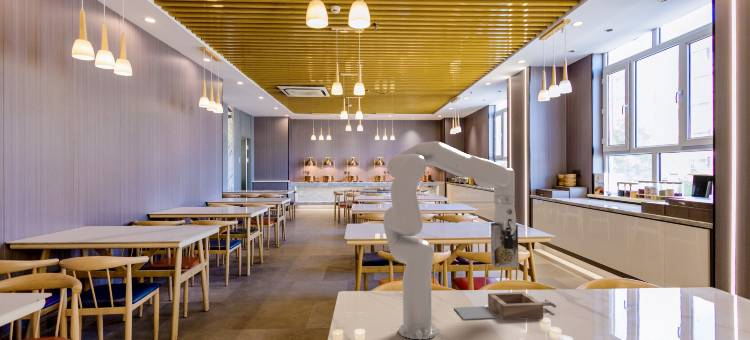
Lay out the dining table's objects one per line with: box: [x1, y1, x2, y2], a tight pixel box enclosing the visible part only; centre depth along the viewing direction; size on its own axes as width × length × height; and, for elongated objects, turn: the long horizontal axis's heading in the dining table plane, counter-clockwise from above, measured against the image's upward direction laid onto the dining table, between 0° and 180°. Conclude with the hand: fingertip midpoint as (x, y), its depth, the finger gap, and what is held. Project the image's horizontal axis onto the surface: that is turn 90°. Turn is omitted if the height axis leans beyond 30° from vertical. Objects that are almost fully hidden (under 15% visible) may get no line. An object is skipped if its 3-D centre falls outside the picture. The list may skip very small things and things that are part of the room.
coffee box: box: [490, 222, 520, 268], centre depth 152 cm, size 9×6×16 cm
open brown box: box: [487, 291, 557, 320], centre depth 153 cm, size 15×23×5 cm, turn 96°
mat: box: [453, 305, 497, 321], centre depth 151 cm, size 12×12×1 cm
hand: (504, 246), depth 152 cm, fingers closed on coffee box, 7 cm apart
